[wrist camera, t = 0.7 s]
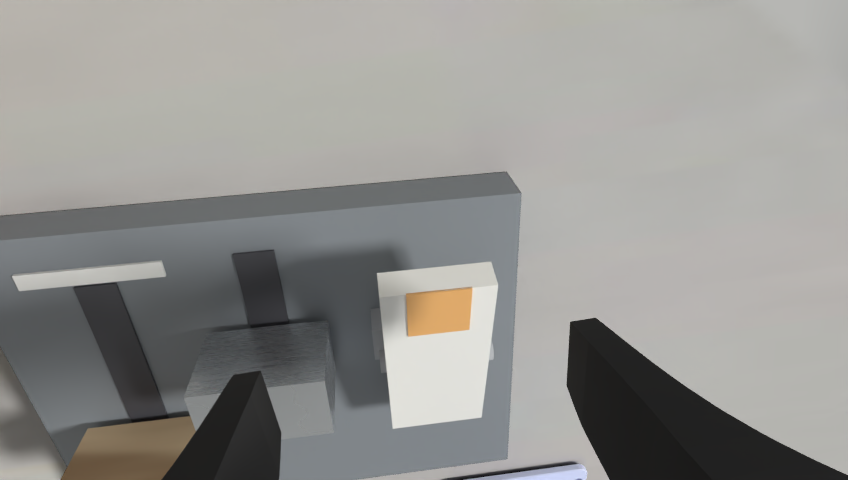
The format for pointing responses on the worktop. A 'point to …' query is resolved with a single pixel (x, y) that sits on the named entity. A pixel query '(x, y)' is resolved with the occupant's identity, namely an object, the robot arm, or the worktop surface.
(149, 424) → the oak slider
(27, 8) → the worktop surface
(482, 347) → the block
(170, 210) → the console
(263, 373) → the steel slider
